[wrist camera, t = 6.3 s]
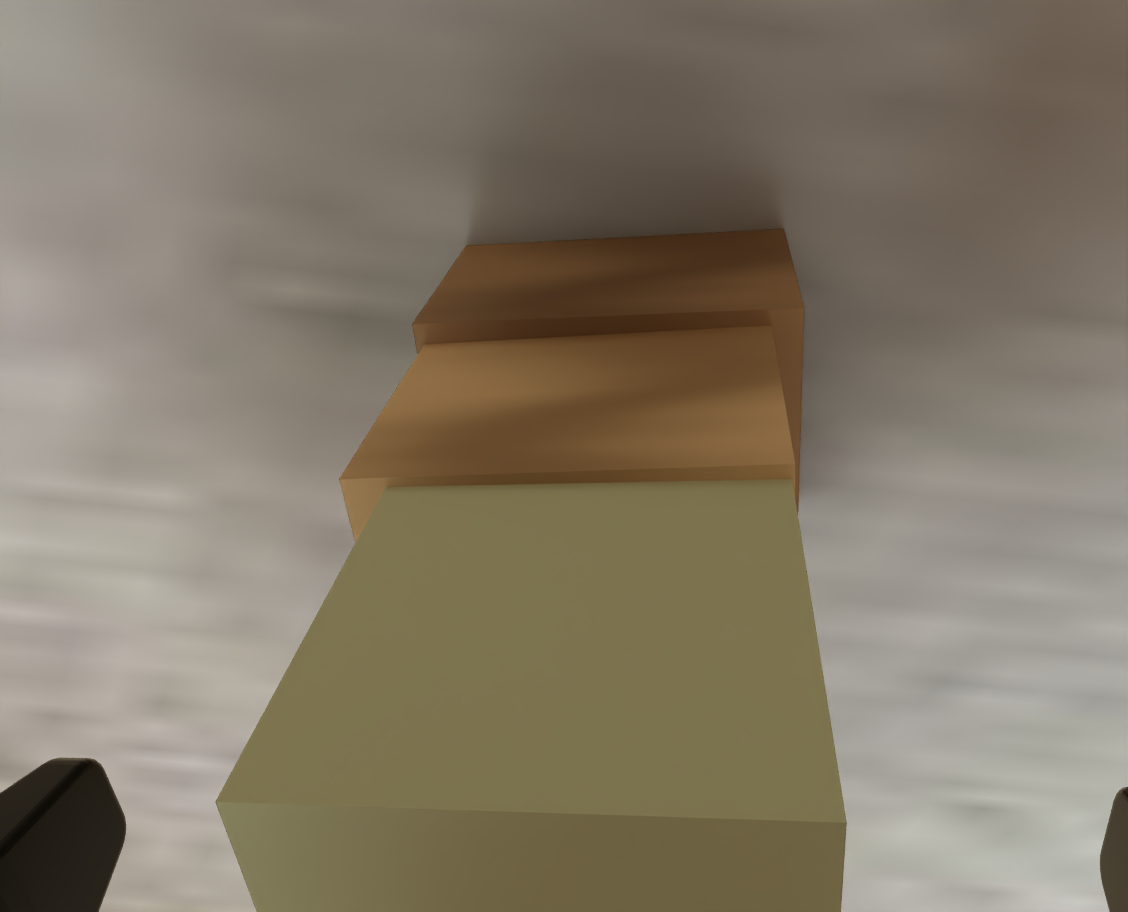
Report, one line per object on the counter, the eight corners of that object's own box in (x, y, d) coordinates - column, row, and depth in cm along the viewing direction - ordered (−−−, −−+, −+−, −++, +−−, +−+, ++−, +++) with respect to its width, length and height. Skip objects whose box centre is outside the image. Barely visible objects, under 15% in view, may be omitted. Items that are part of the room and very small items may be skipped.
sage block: (792, 479, 9) (847, 822, 6) (786, 780, 11) (823, 1173, 8) (386, 486, 10) (215, 801, 6) (446, 771, 12) (340, 1131, 8)
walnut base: (783, 227, 15) (803, 307, 12) (778, 502, 17) (794, 628, 14) (467, 244, 16) (412, 323, 13) (504, 505, 18) (465, 625, 15)
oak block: (771, 324, 12) (795, 463, 9) (773, 611, 14) (792, 801, 11) (424, 344, 13) (339, 479, 10) (475, 614, 15) (419, 794, 12)
